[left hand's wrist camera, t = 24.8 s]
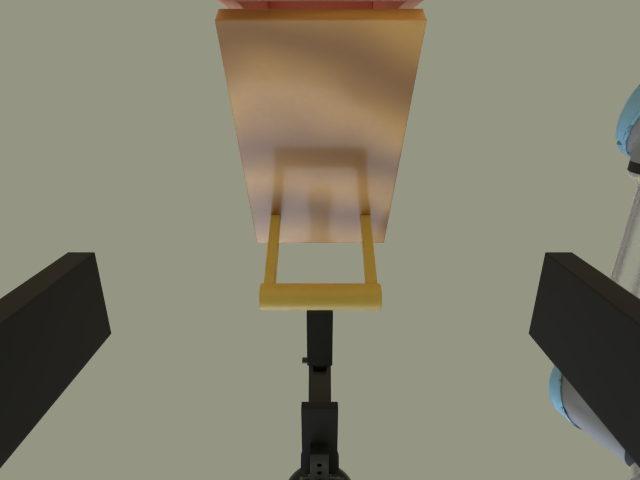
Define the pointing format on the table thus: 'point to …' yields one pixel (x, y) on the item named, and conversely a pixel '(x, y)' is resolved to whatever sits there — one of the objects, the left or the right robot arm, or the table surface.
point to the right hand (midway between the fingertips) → (319, 350)
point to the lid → (320, 132)
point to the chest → (320, 4)
